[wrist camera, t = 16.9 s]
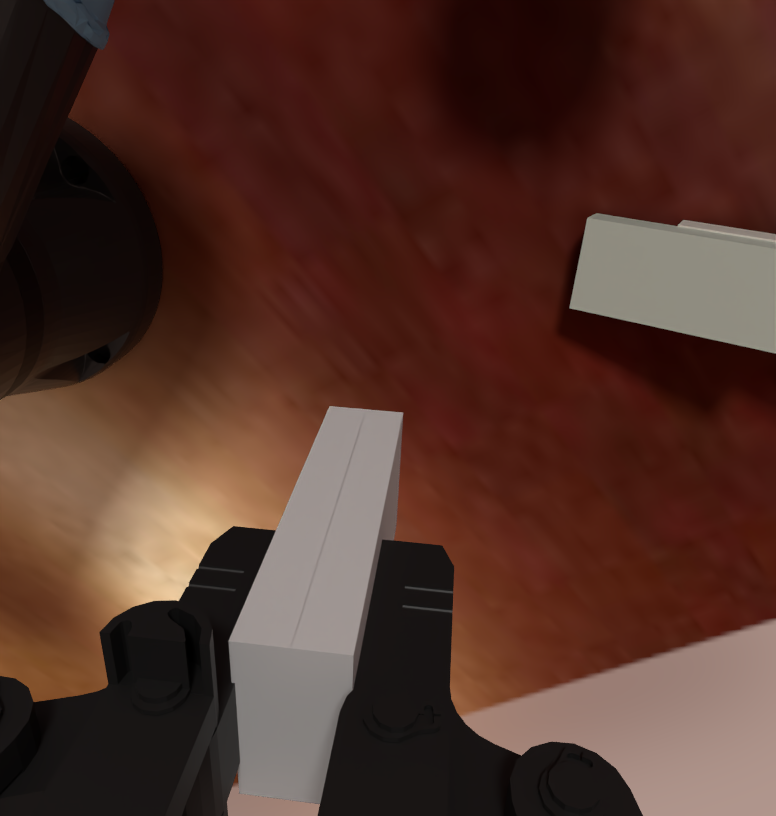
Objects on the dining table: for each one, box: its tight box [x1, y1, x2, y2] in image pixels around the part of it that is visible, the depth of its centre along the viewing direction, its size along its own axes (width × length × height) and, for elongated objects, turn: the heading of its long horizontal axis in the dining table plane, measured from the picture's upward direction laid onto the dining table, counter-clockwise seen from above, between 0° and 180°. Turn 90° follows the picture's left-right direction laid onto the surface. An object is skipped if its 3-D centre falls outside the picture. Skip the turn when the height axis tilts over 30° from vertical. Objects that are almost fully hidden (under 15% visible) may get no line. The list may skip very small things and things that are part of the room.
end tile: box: [569, 213, 776, 353], centre depth 32 cm, size 2×4×10 cm
